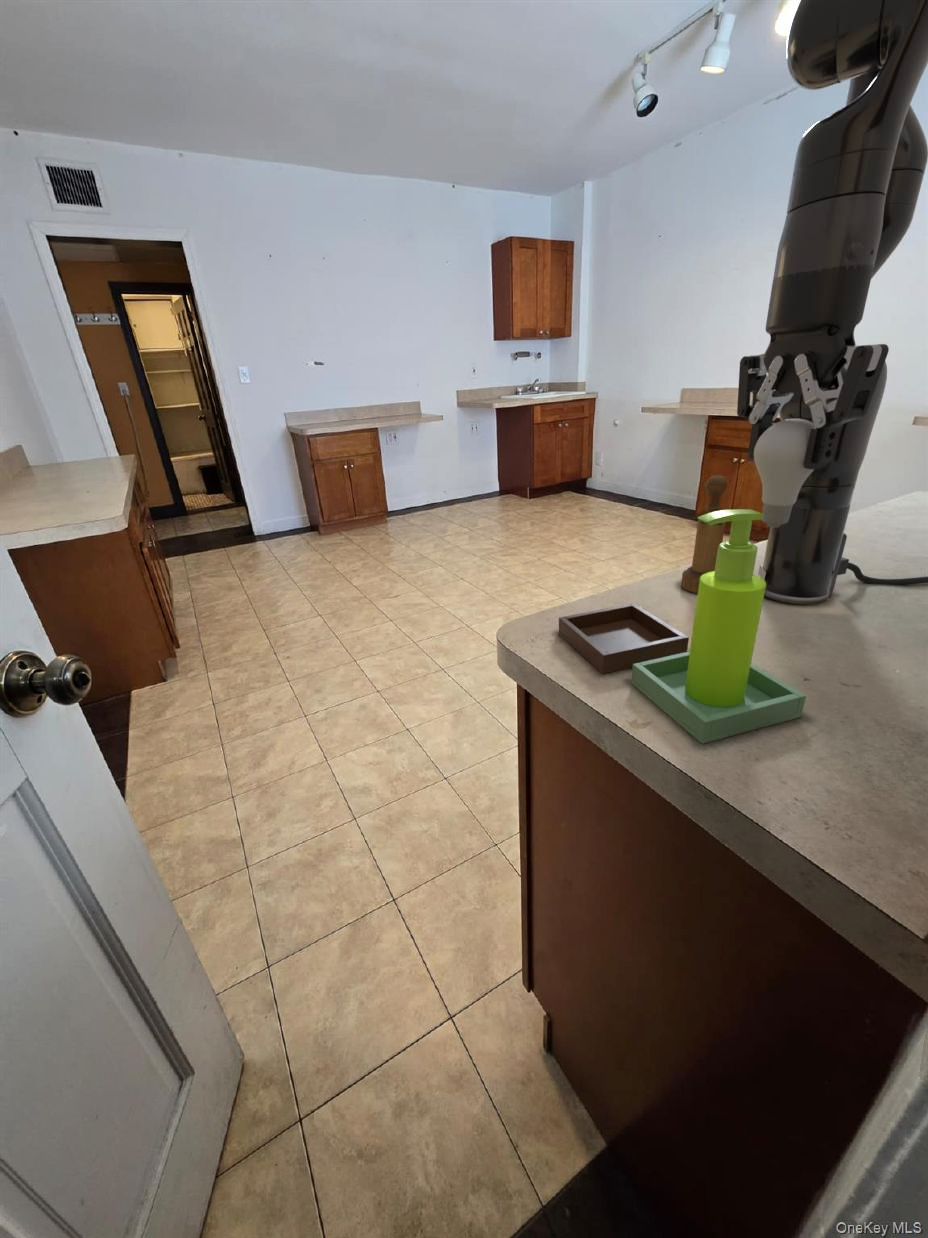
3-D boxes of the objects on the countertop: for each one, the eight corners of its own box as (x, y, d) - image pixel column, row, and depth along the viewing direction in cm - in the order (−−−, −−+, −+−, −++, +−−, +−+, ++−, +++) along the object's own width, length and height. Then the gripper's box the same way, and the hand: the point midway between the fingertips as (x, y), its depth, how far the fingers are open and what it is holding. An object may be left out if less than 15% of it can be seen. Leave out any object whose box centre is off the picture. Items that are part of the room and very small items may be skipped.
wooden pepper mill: (728, 595, 81) (747, 479, 74) (684, 594, 82) (698, 480, 75) (718, 580, 87) (734, 471, 79) (677, 579, 88) (690, 473, 81)
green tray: (717, 663, 63) (720, 644, 62) (801, 717, 52) (806, 695, 51) (631, 683, 60) (632, 663, 59) (701, 744, 49) (705, 722, 48)
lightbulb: (799, 520, 57) (822, 414, 52) (813, 536, 52) (840, 419, 47) (738, 519, 59) (754, 417, 54) (746, 534, 54) (765, 422, 49)
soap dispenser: (666, 681, 59) (687, 507, 50) (725, 675, 59) (755, 501, 51) (691, 711, 53) (719, 521, 45) (755, 704, 54) (795, 515, 45)
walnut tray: (632, 619, 75) (633, 602, 74) (686, 655, 65) (689, 637, 64) (558, 633, 73) (558, 617, 72) (602, 674, 62) (603, 655, 61)
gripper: (942, 249, 40) (883, 469, 47) (787, 284, 53) (759, 453, 60) (869, 249, 38) (819, 478, 45) (727, 286, 51) (705, 460, 58)
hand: (785, 463), depth 52 cm, fingers closed on lightbulb, 6 cm apart
